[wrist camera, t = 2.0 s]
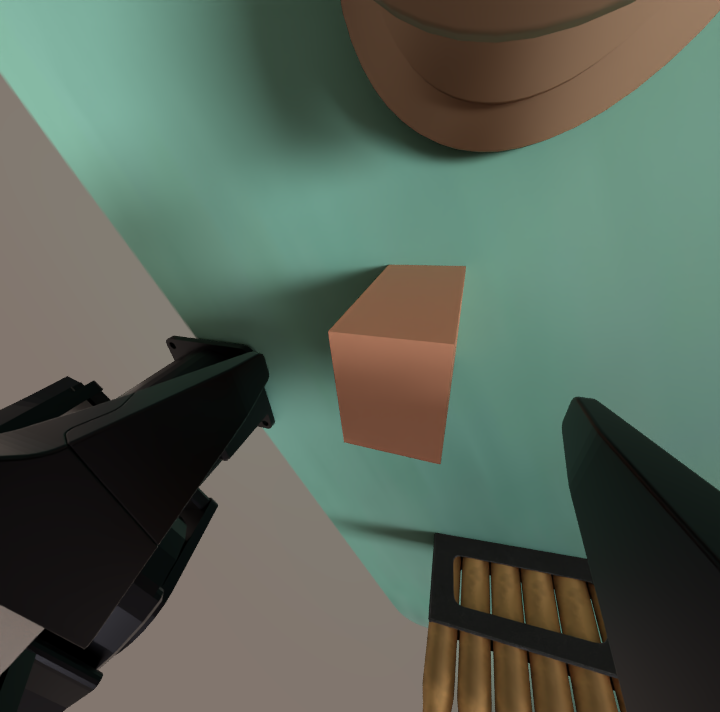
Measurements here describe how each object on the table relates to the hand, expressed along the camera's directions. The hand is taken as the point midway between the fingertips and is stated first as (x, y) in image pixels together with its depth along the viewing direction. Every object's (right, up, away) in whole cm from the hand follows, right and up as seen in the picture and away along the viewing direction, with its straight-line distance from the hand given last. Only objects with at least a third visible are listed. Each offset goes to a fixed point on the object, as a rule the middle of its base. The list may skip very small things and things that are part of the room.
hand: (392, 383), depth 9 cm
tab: (+2, +3, +4) cm, 5 cm away
